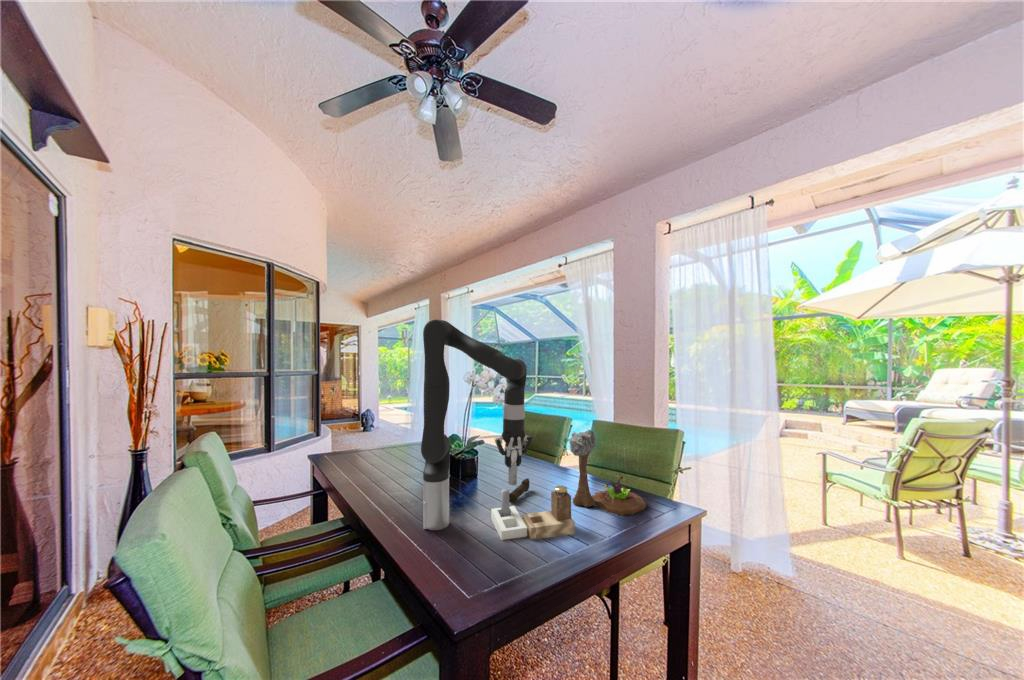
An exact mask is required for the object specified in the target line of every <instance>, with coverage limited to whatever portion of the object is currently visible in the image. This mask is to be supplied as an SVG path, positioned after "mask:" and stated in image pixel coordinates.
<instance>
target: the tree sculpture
mask: <svg viewBox="0 0 1024 680" xmlns="http://www.w3.org/2000/svg"><path fill="white" fill-rule="evenodd" d="M568 440H569V449H570V453H572V454H573V455H574V456H575V457H578V471H579V479H578V482H577V483H578V486H577V489H576V492H575V495H574V497H573V499H572V503H573V504H574V505H576V506H582V507H584V508H590V507H592V506H596V505H595V503H596V502H595V500H594V499H593V498H592V494H591V492H590V487H589V480H588V472H587V466H588V458H589V456H590V454H591V452H592V451H593V450H595V447H597V443H596V442H597V439H596V436H595V433H594V431H593V430H591V429H587V430H586V431H584V432H578V433H577V432H573V433H572V434H571V437H570V438H569V439H568Z"/></svg>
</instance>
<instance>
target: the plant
mask: <svg viewBox="0 0 1024 680" xmlns="http://www.w3.org/2000/svg"><path fill="white" fill-rule="evenodd" d="M625 479H626V478H625V476H622V475H621V476H619V478H618V480H617V482H616V484H615V483H613V482H608V483H606V484H605V485H604V487H605V489H606V490H603V491H602V490H600V491H598V492H597V491H596V492H595V493H594V494H593V495H592V494H591V496H592V498H593V499H594V500H595V502H596V503H595V505H594V506H596V507H598V508H601V509H602V510H604V511H605V512H607V513H608V512H609V514H612V513H613V514H612V515H617V514H619V515H618V516H625V515H635V514H637V513H636V512H638V513H639V511H640V512H642V511H645V510H646V509H645V508H647V503H646V502H645V501H644V499H643V497H641V496H639V495H638V494H636V493H635V492H631V488H626V487H625V486H624V485H620V483H621V482H620V480H621V481H625ZM609 485H611V486H610V488H609ZM641 510H642V511H641ZM634 513H635V514H634ZM624 514H625V515H624Z"/></svg>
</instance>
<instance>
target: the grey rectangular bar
mask: <svg viewBox="0 0 1024 680" xmlns="http://www.w3.org/2000/svg"><path fill="white" fill-rule="evenodd" d="M517 457H518V449H517V448H516V447H512V449H511V451H510V467H508V473H507V474H508V475H507V476H508V477H507V479H508V481H507V483H508V485H510V486H517V484H518V466H517Z"/></svg>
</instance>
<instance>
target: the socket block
mask: <svg viewBox="0 0 1024 680" xmlns="http://www.w3.org/2000/svg"><path fill="white" fill-rule="evenodd" d="M550 495H551V496H550V499H551V501H550V502H551V503H550V504H551V505H550V507H551V508H550V510H546V511H545V510H543V511H538V512H530V513H524V514H522V517H521V518H522V520H523V522H524V523H525V525H526V527H527V537H528V538H529V539H530V540H531V541H533V540H539V539H546V538H553V537H559V536H569V535H575V534H576V526H575V525H576V524H575V523H576V522H575V520H574V519H573V518H572V495H570V493H569V492H568V491H567V492H566V493H565V496H558V495H557V492H555V490H553V491H550Z"/></svg>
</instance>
